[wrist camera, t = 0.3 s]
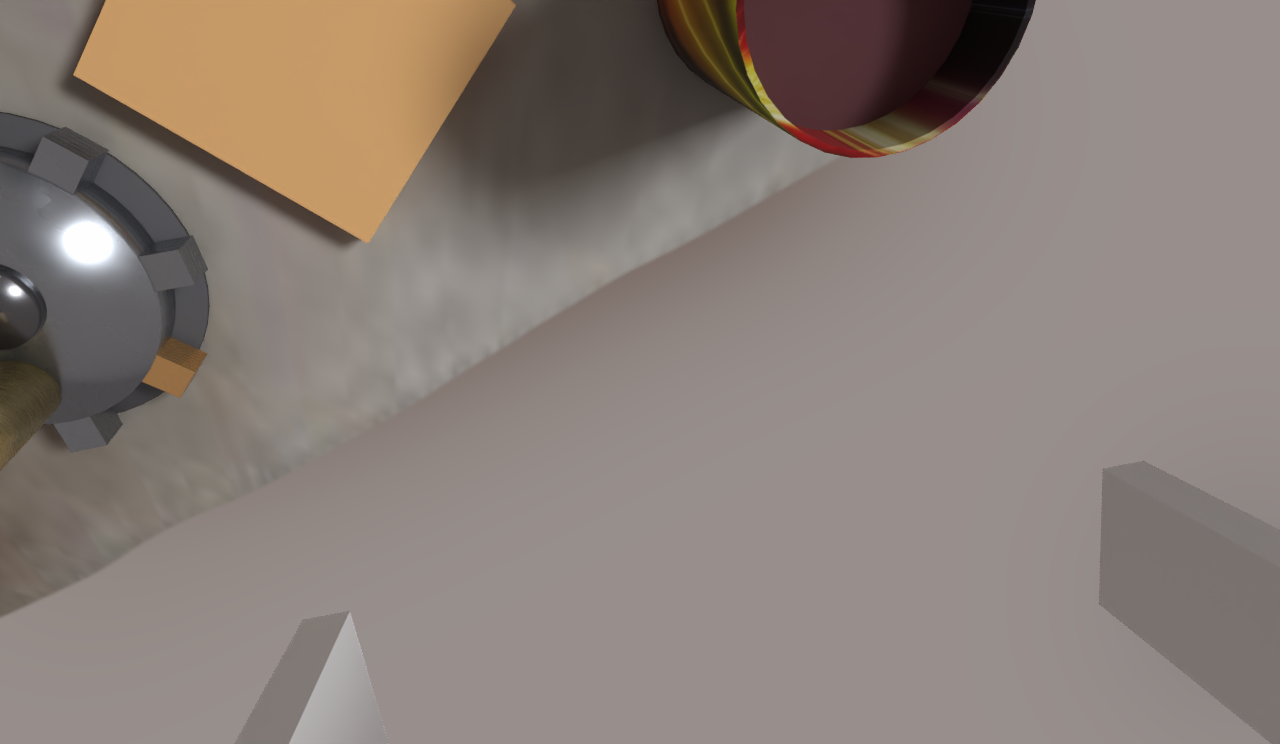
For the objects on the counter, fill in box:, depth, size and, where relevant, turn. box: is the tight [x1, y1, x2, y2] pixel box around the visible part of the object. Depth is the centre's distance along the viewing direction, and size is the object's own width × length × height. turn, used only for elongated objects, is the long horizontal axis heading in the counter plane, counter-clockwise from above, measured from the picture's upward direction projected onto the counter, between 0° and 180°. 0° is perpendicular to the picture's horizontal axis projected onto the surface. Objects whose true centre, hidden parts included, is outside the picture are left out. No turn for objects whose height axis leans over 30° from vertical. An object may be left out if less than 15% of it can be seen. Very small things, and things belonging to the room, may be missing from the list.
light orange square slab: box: [73, 0, 516, 243], centre depth 30 cm, size 12×12×2 cm
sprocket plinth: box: [0, 112, 209, 413], centre depth 33 cm, size 14×14×1 cm
